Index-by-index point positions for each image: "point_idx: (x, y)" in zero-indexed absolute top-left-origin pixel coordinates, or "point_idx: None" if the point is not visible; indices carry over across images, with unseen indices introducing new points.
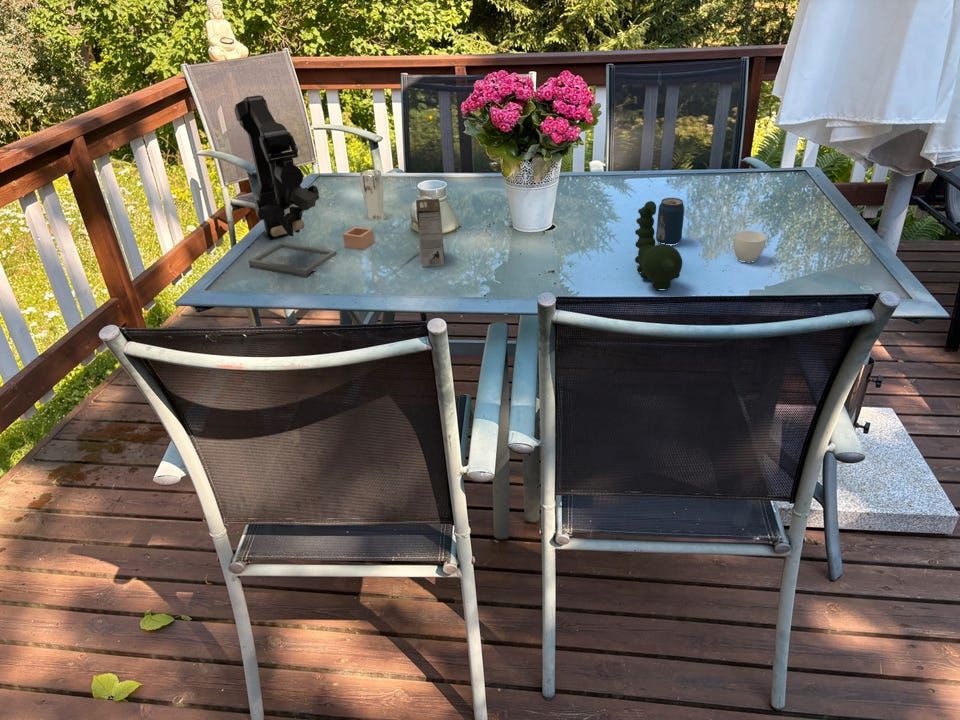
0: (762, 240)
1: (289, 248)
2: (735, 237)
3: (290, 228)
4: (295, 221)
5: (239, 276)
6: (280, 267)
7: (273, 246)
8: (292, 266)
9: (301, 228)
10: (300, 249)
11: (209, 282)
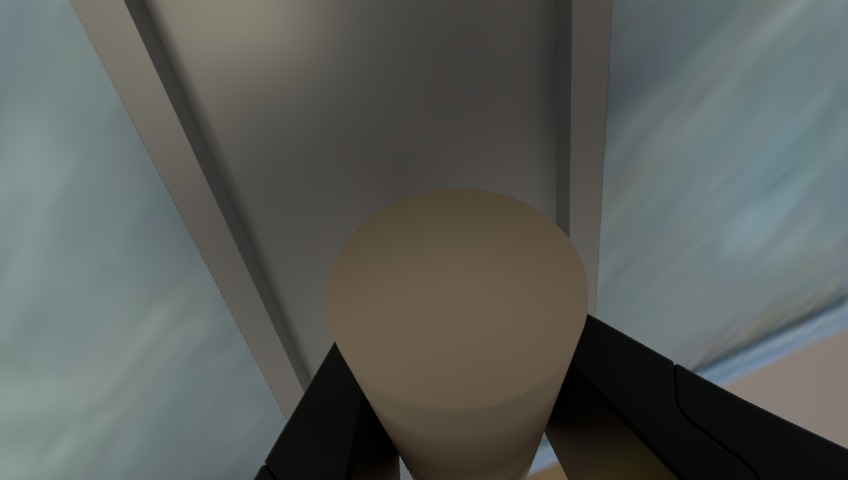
0: None
1: (303, 372)
2: None
3: (623, 337)
4: (511, 442)
5: (683, 303)
6: (599, 155)
7: None
8: (576, 62)
9: (485, 190)
10: (271, 303)
11: (768, 349)
